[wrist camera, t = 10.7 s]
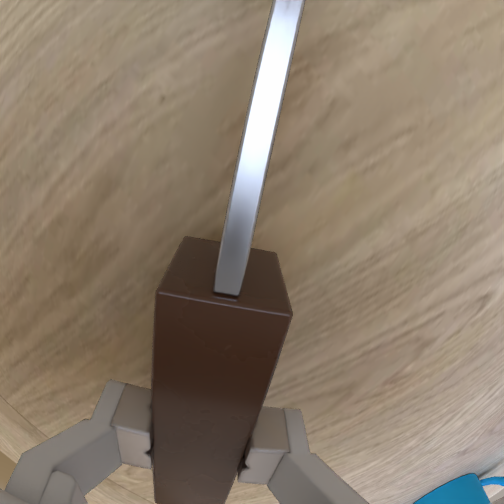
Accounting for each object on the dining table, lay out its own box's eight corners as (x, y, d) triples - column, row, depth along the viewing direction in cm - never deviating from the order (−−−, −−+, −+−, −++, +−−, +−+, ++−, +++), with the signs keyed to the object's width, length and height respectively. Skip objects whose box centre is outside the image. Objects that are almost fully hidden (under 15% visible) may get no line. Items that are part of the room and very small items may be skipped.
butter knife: (165, 444, 11) (154, 503, 8) (270, -112, 4) (279, -171, 1) (223, 453, 11) (221, 513, 9) (350, -93, 5) (381, -146, 2)
